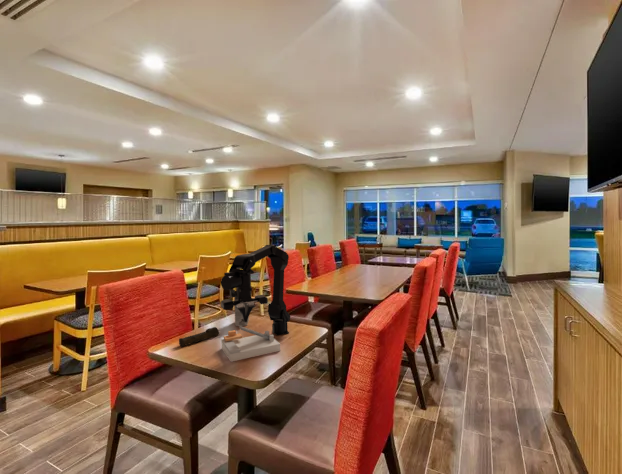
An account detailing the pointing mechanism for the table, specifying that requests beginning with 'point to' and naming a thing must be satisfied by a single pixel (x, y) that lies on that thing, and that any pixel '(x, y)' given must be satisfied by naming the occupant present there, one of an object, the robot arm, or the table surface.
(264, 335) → the grey flat bar
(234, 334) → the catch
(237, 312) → the coffee box
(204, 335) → the hand tool
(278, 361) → the table surface
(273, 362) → the table surface
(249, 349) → the mount block
